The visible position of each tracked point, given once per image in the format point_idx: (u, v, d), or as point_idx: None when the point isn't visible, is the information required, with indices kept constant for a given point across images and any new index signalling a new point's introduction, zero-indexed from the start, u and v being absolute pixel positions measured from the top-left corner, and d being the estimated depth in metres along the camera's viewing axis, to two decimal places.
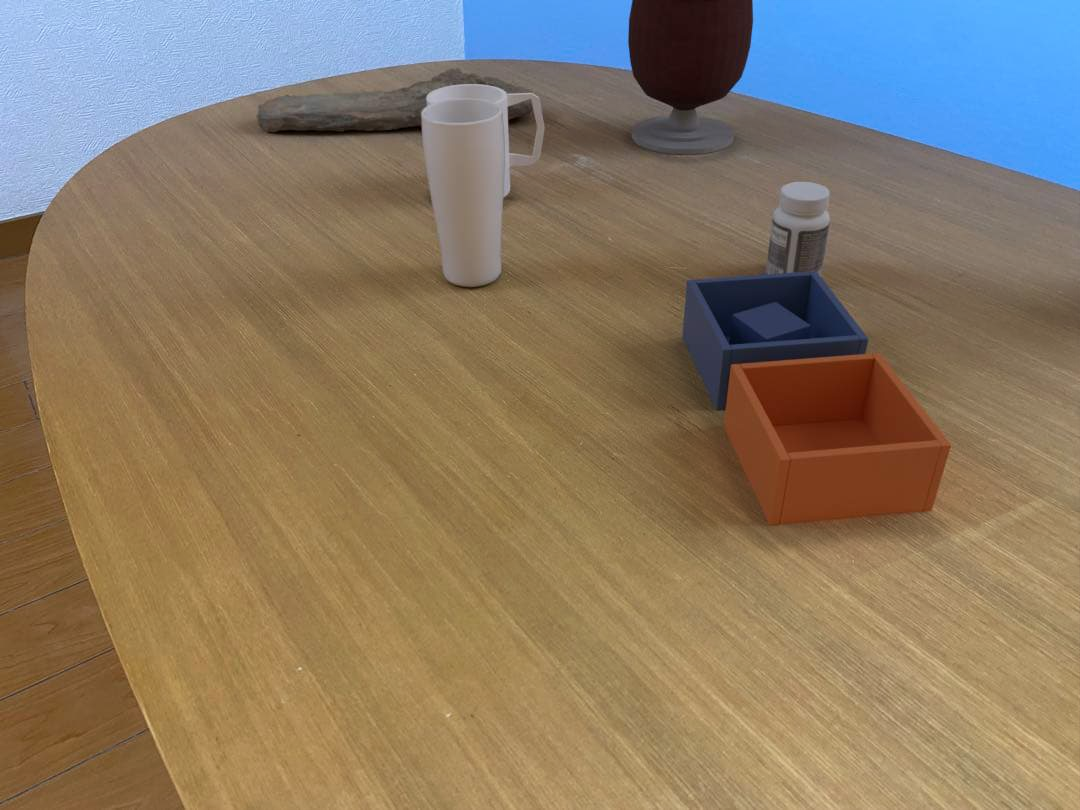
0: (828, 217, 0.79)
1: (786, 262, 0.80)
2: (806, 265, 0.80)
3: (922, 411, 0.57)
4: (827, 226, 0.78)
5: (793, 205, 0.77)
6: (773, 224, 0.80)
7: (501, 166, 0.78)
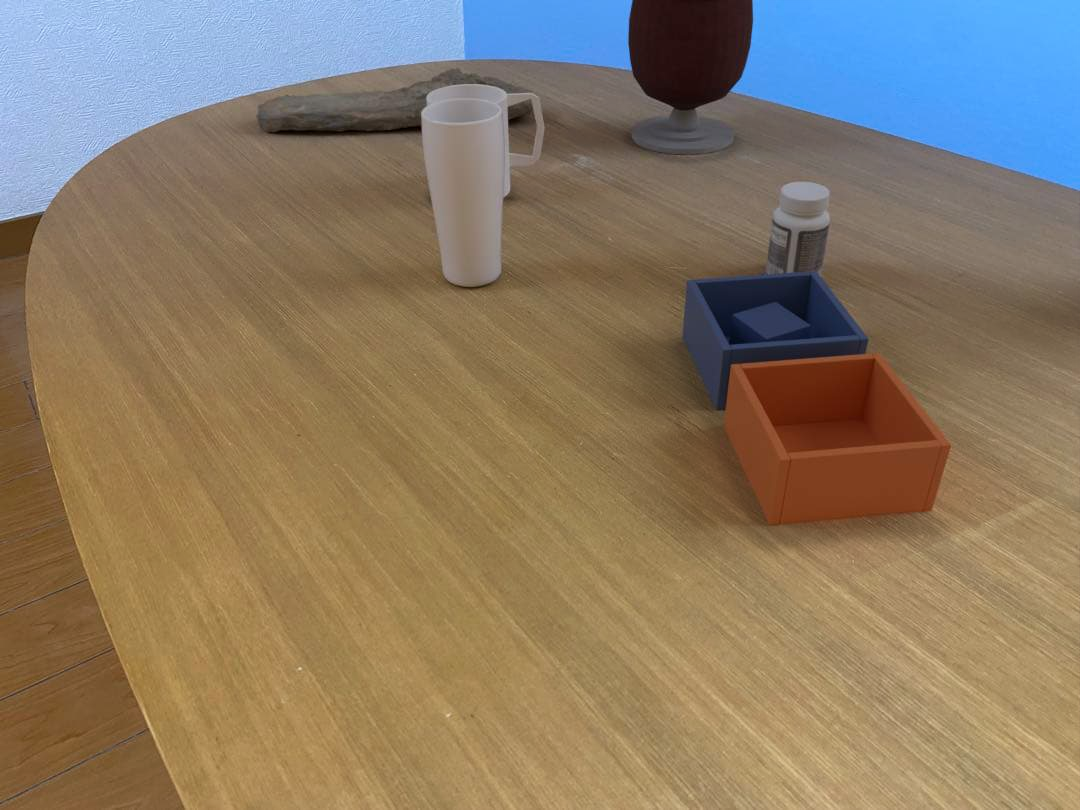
0: (828, 217, 0.79)
1: (786, 262, 0.80)
2: (806, 265, 0.80)
3: (922, 411, 0.57)
4: (827, 226, 0.78)
5: (794, 205, 0.77)
6: (773, 224, 0.80)
7: (501, 166, 0.78)
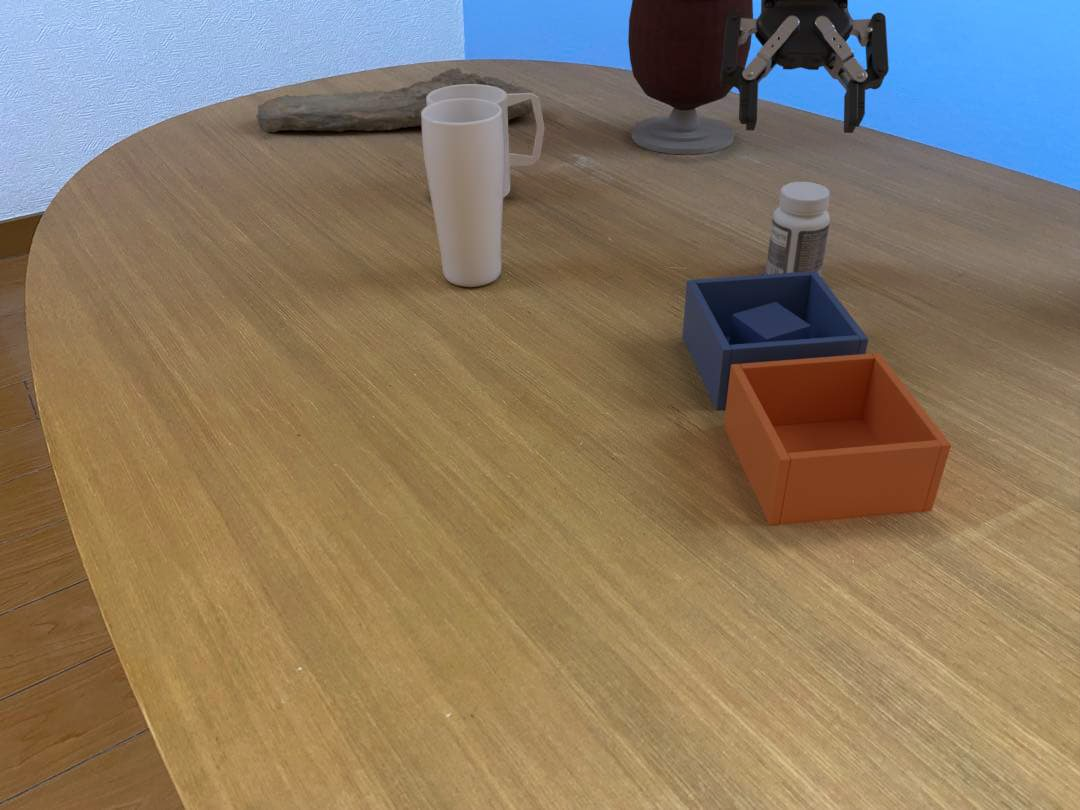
0: (828, 217, 0.79)
1: (786, 262, 0.80)
2: (806, 265, 0.80)
3: (922, 411, 0.57)
4: (827, 226, 0.78)
5: (794, 205, 0.77)
6: (773, 224, 0.80)
7: (501, 166, 0.78)
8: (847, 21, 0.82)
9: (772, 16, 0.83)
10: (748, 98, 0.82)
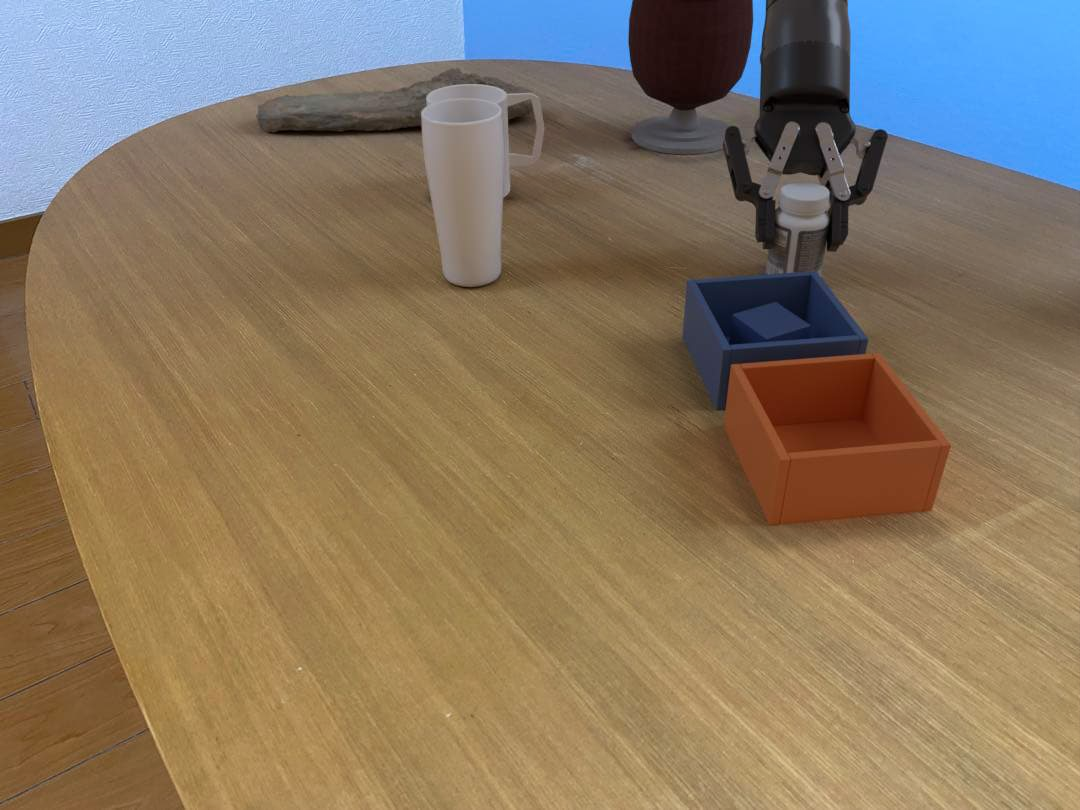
0: (828, 217, 0.79)
1: (786, 262, 0.80)
2: (806, 265, 0.80)
3: (922, 411, 0.57)
4: (827, 226, 0.78)
5: (793, 205, 0.77)
6: None
7: (501, 166, 0.78)
8: (849, 126, 0.79)
9: (770, 120, 0.80)
10: (765, 217, 0.79)
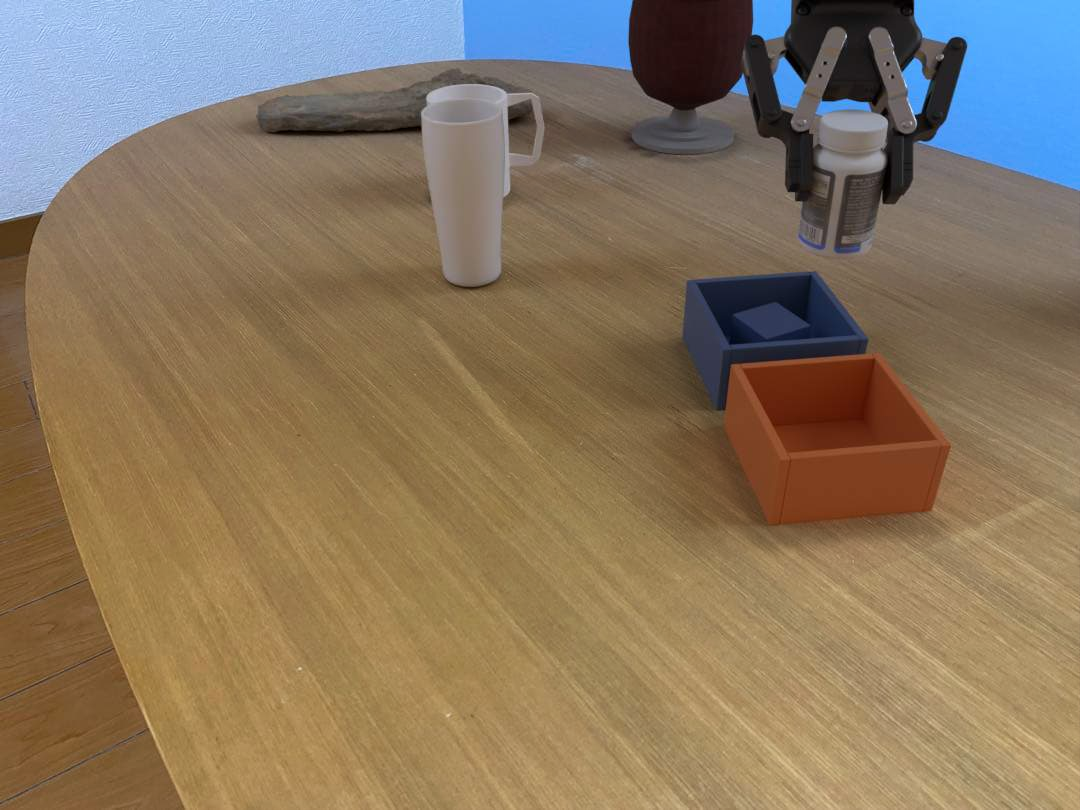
0: (885, 156, 0.58)
1: (827, 219, 0.59)
2: (854, 223, 0.59)
3: (922, 411, 0.57)
4: (884, 169, 0.58)
5: (839, 139, 0.56)
6: None
7: (501, 166, 0.78)
8: (913, 34, 0.58)
9: (805, 27, 0.59)
10: (799, 157, 0.58)
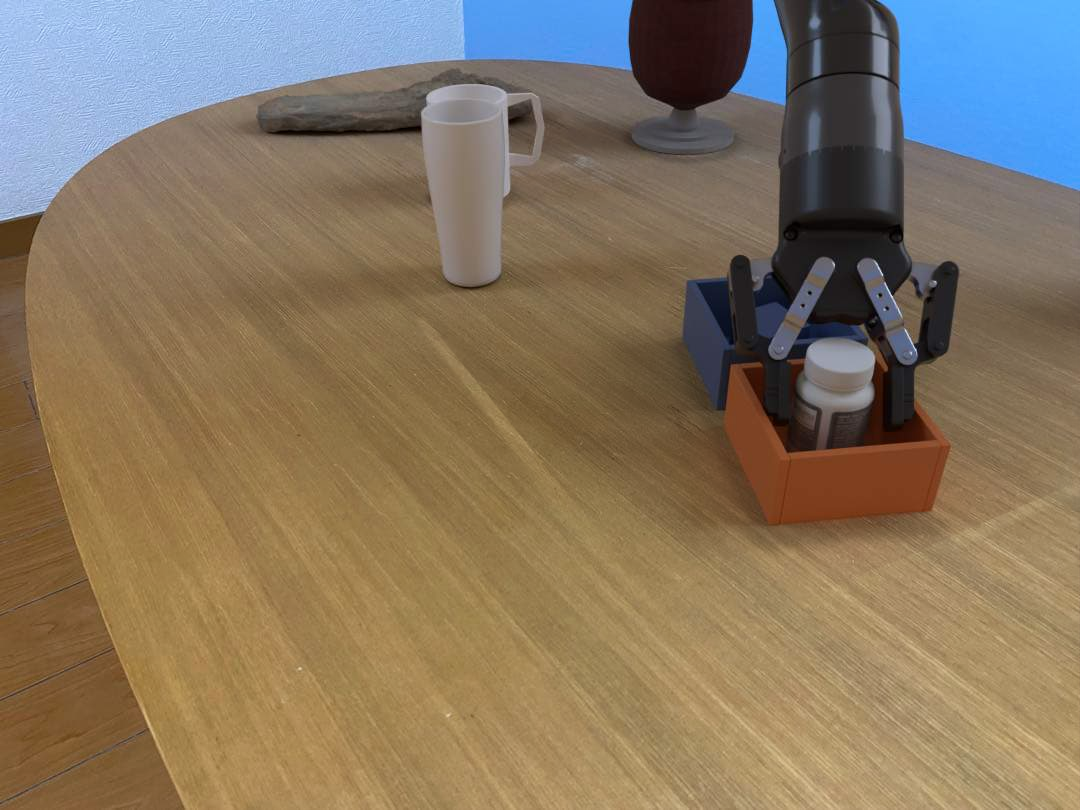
0: (872, 390, 0.57)
1: (814, 448, 0.58)
2: None
3: (922, 411, 0.57)
4: (871, 402, 0.57)
5: (825, 377, 0.55)
6: (796, 396, 0.58)
7: (501, 166, 0.78)
8: (903, 262, 0.57)
9: (794, 253, 0.58)
10: (777, 385, 0.57)
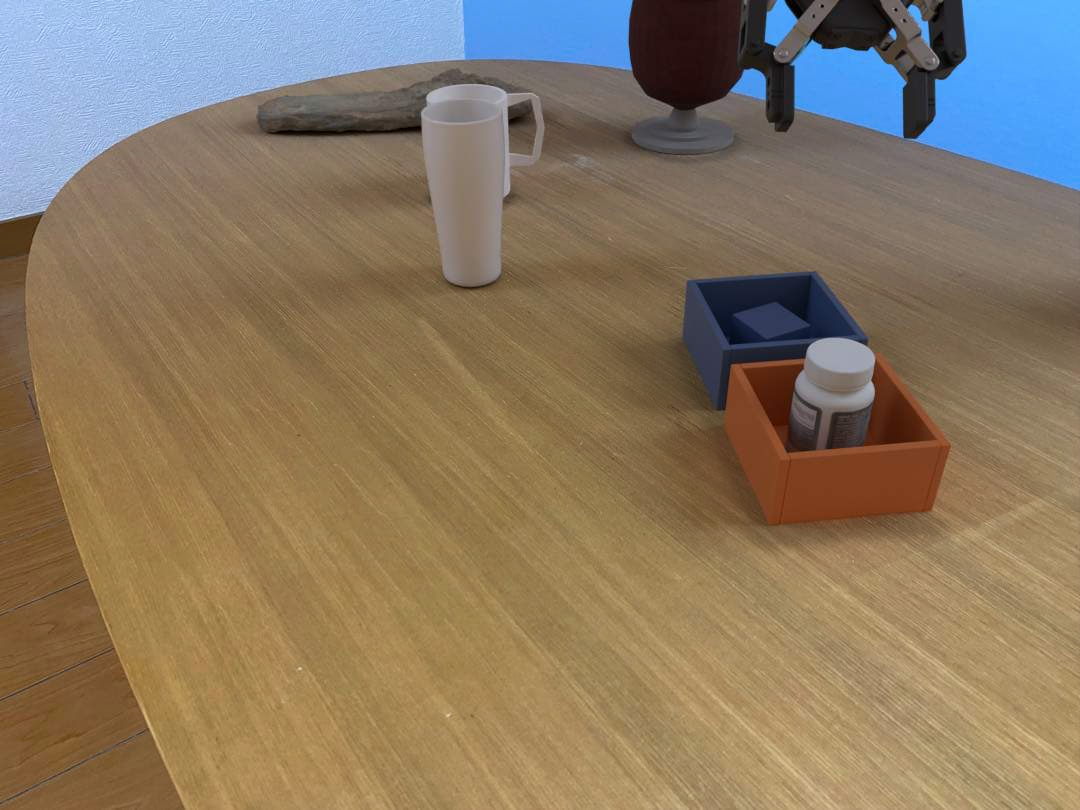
0: (872, 390, 0.57)
1: (814, 448, 0.58)
2: None
3: (922, 411, 0.57)
4: (871, 403, 0.57)
5: (825, 377, 0.55)
6: (796, 396, 0.58)
7: (501, 166, 0.78)
8: None
9: None
10: (781, 88, 0.60)
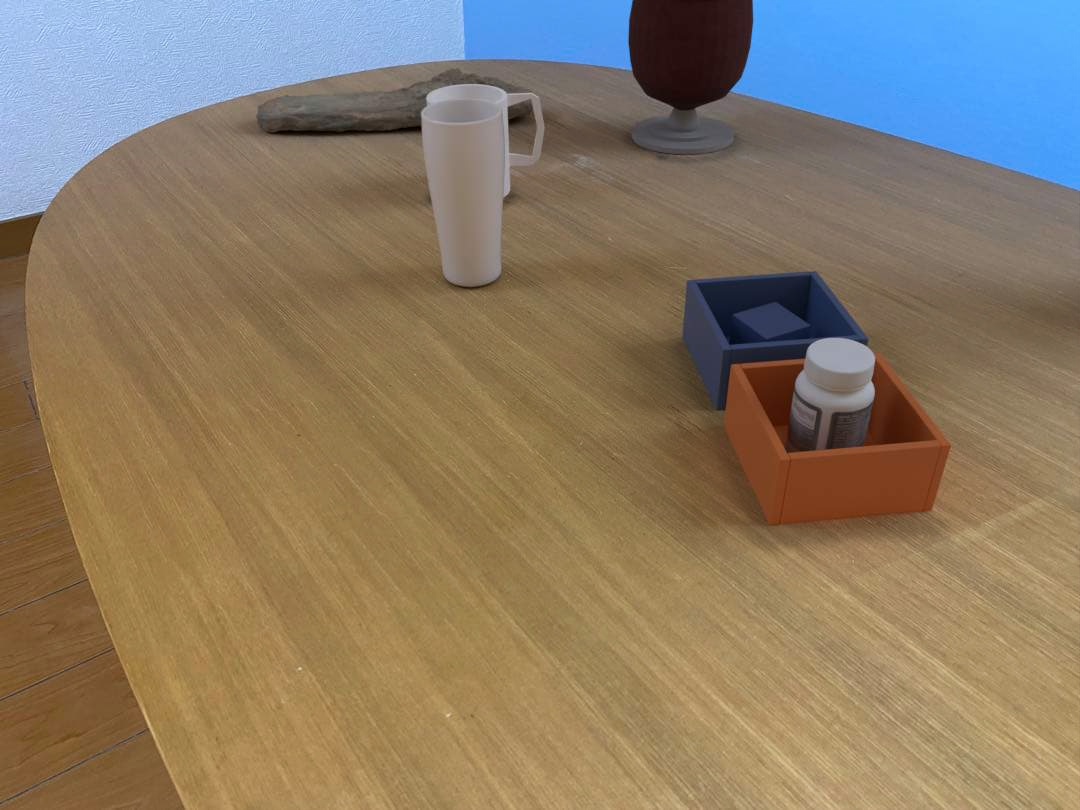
0: (872, 390, 0.57)
1: (814, 448, 0.58)
2: None
3: (922, 411, 0.57)
4: (871, 403, 0.57)
5: (826, 378, 0.55)
6: (796, 396, 0.58)
7: (501, 166, 0.78)
8: None
9: None
10: None
